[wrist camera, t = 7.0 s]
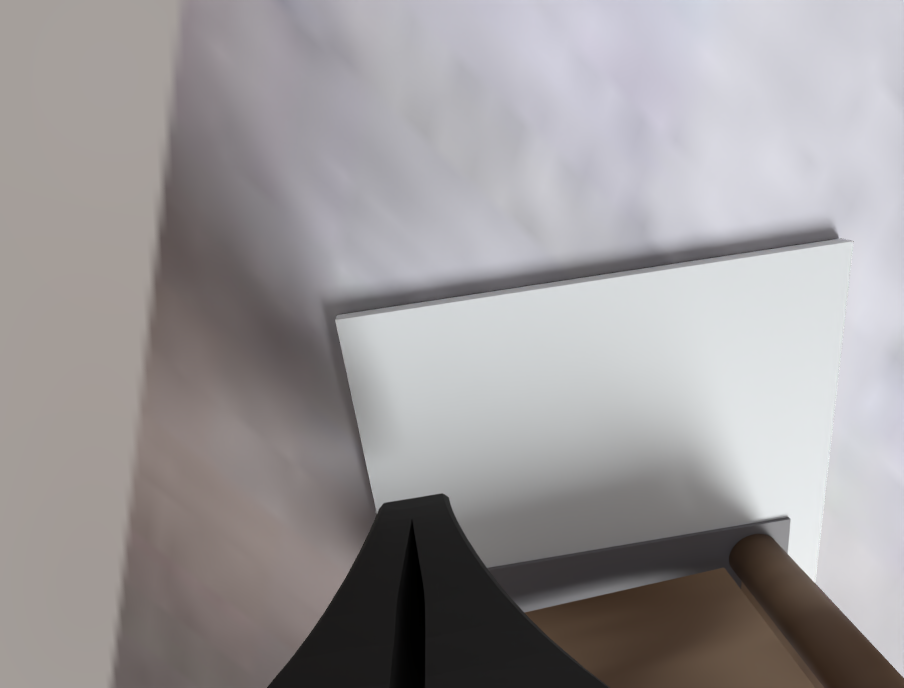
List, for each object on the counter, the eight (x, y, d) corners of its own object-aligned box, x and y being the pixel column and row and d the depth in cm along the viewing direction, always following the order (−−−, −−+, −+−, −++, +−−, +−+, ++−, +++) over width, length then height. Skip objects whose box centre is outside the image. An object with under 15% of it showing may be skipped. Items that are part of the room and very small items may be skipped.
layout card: (789, 735, 19) (798, 750, 19) (440, 798, 19) (441, 815, 18) (841, 238, 13) (856, 242, 13) (336, 314, 13) (334, 321, 13)
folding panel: (723, 552, 15) (873, 744, 11) (724, 587, 16) (869, 786, 11) (441, 615, 15) (460, 839, 10) (450, 648, 16) (472, 878, 11)
